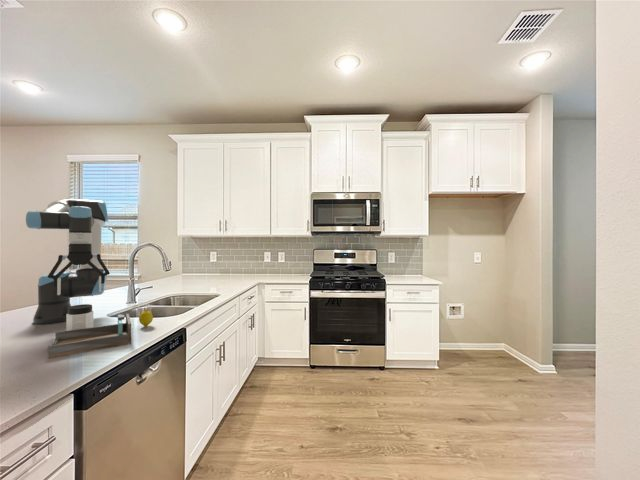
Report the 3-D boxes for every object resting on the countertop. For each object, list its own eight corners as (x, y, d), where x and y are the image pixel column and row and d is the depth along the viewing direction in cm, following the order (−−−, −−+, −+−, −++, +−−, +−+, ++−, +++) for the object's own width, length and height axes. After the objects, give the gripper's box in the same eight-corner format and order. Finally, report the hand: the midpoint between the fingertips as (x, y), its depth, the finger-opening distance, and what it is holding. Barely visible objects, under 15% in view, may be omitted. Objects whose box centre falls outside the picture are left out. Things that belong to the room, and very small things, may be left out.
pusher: (117, 331, 126) (117, 312, 126) (123, 330, 127) (123, 311, 127) (118, 341, 113) (118, 320, 113) (124, 340, 114) (124, 320, 114)
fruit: (155, 325, 138) (155, 308, 138) (145, 328, 133) (145, 311, 133) (146, 324, 140) (146, 307, 140) (136, 327, 135) (136, 310, 134)
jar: (64, 339, 119) (64, 309, 119) (68, 333, 126) (68, 305, 126) (92, 335, 124) (92, 307, 124) (94, 330, 131) (94, 303, 131)
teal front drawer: (55, 342, 115) (55, 322, 115) (128, 331, 129) (128, 313, 129) (48, 358, 100) (48, 335, 100) (131, 343, 115) (131, 323, 114)
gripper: (38, 243, 114) (38, 297, 114) (116, 243, 129) (116, 291, 129) (41, 243, 120) (41, 294, 120) (115, 242, 135) (115, 288, 135)
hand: (80, 292), depth 124 cm, fingers open, 13 cm apart
